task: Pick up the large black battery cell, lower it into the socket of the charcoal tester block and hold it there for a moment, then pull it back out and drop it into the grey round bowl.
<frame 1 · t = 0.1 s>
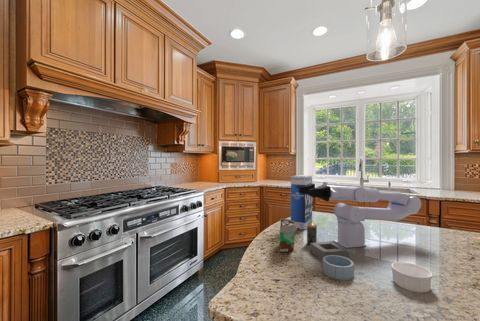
hand: (304, 191, 87), 22 cm above the countertop, tool horizontal, fingers open, 7 cm apart
tester: (328, 255, 80), on the countertop
ramekin: (411, 285, 61), on the countertop
grey round bowl: (337, 272, 68), on the countertop
food container: (288, 249, 86), on the countertop
battery cell: (311, 244, 91), on the countertop
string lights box: (301, 226, 117), on the countertop
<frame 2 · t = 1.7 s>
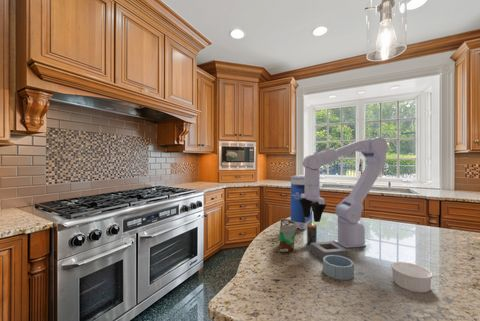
hand: (311, 219, 91), 10 cm above the countertop, tool pointing down, fingers open, 7 cm apart
nothing on the countertop moved.
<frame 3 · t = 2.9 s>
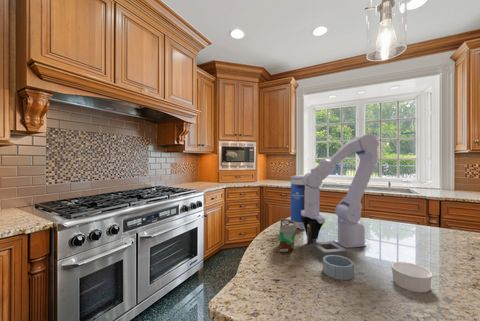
hand: (311, 236, 91), 3 cm above the countertop, tool pointing down, fingers closed on battery cell, 4 cm apart
battery cell: (311, 244, 91), on the countertop, touching gripper
everything else where it was.
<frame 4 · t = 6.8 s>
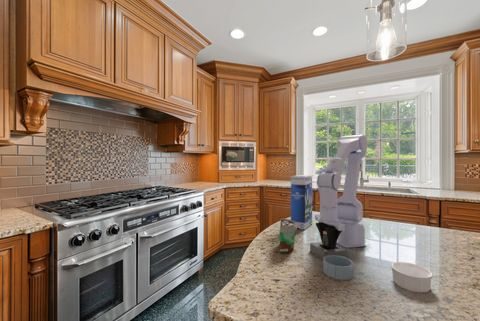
hand: (328, 245, 80), 3 cm above the countertop, tool pointing down, fingers closed on battery cell, 4 cm apart
battery cell: (328, 253, 80), point 1 cm above the countertop, touching gripper
everything else where it was.
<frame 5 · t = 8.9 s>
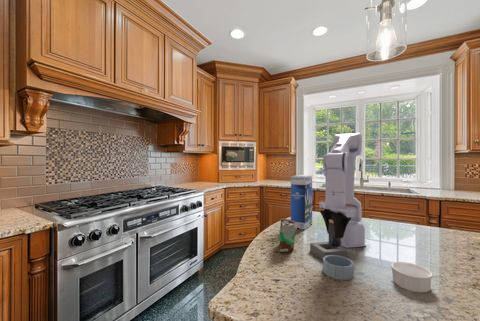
hand: (335, 235, 71), 10 cm above the countertop, tool pointing down, fingers closed on battery cell, 4 cm apart
battery cell: (334, 244, 71), point 7 cm above the countertop, touching gripper
everything else where it was.
when the fingers open (5 cm above the countertop, at t = 10.5 s): battery cell drops 1 cm, resting on grey round bowl.
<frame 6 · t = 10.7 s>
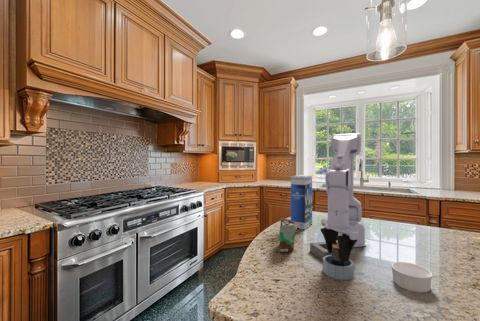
hand: (337, 256, 68), 5 cm above the countertop, tool pointing down, fingers open, 5 cm apart
battery cell: (337, 270, 68), point 1 cm above the countertop, touching grey round bowl
everything else where it was.
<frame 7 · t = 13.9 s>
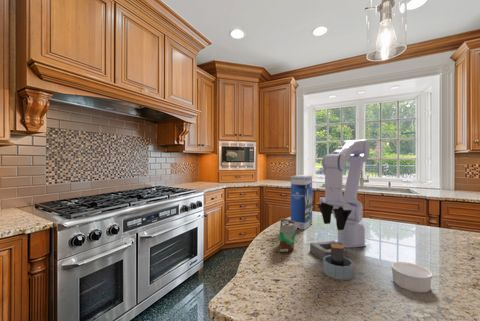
hand: (333, 226, 81), 10 cm above the countertop, tool pointing down, fingers open, 7 cm apart
nothing on the countertop moved.
at the end: battery cell 0.1 cm from the grey round bowl (horizontally); battery cell point 0.5 cm above the countertop; the gripper is holding nothing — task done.
